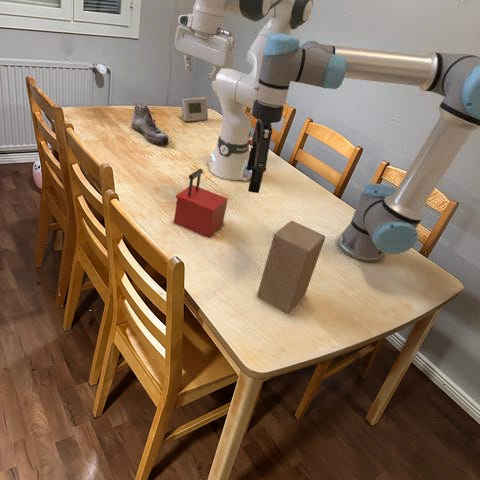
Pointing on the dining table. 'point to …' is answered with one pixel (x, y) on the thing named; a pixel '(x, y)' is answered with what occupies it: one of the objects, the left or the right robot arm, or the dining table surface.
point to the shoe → (147, 125)
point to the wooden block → (290, 265)
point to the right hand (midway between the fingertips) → (252, 180)
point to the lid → (201, 195)
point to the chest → (199, 218)
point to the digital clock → (194, 109)
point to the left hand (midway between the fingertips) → (200, 75)
